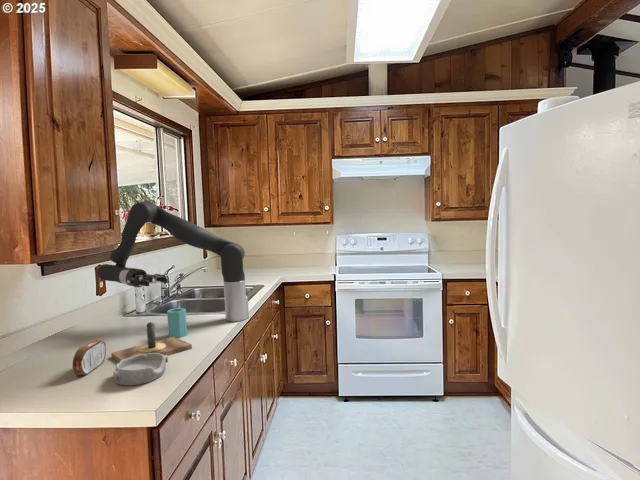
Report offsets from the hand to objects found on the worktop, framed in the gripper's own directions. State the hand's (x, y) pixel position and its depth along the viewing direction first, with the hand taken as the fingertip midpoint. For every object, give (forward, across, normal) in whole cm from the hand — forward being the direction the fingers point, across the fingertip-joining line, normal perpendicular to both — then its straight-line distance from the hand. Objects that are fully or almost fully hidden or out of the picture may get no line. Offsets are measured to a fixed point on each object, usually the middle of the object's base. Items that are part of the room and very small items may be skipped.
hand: (158, 282), depth 164 cm
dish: (+34, -32, +20) cm, 51 cm away
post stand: (+20, -17, +20) cm, 32 cm away
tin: (+15, -35, +21) cm, 44 cm away
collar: (+11, 0, +20) cm, 23 cm away
